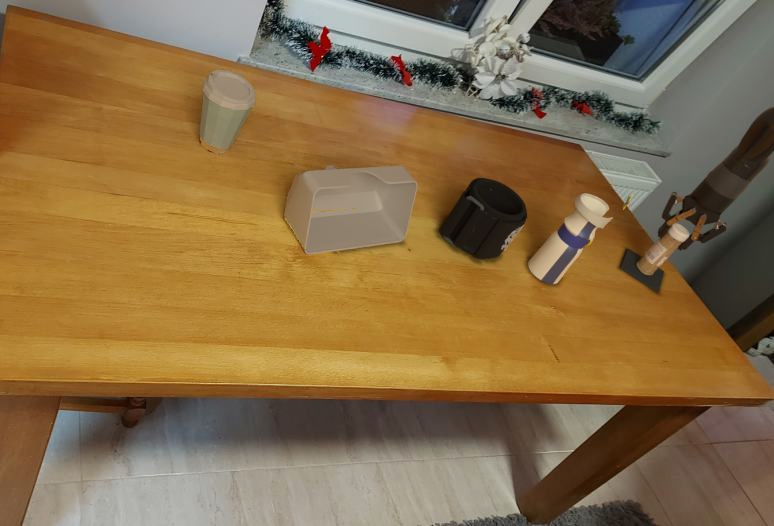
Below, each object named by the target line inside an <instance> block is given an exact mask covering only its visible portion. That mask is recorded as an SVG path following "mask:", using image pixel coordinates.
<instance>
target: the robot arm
mask: <svg viewBox="0 0 774 526" xmlns="http://www.w3.org/2000/svg"><path fill="white" fill-rule="evenodd" d="M773 153H774V106H772V107H769V108H767V109H765V110H763V111H762V112H761V113H760V114H759V115H758V116H757V117H756V118H755V119H754V120H753V121H752V123H750V125H749V126H748V128H747V129H746V131H745V133H744V134H743V136H742V137H741V139H740V140H739V143H738V144H737V145H736V146H735V147H734V148H733V149H732V150H730V152H729V153H728V154H727V155H726V156H725V158H724V159H723V160H722V161H721V162H720V163H718V164H717V165H716V166H715V167H714V168H713V169H712V170H711V171H710V172H708V174H707V175H706V176H705V177H704V179H703V180H702V181H700V183H699V184H698V185H697V186H696V187H695V188H694V189H693V191H692V192H691V193H690V194H687V195H685V196H683V195H679V194H678V192H676V191H673V192H671V194H670V196H669V198H668V200H667V202H666V204H665V206H664V208H663V211H662V213H661V218H662V219H663V220H664V222H663V223H662V225H661V226H660V227H659V228H658V230H657V237H658V238H661V237H662V236H663V235H664V234H665V233H666V232H667V231H668V230H669V228H670V227H671V225H673V224H674V223H678V222H681V221H684V220H686V221H688V222H690V223H691V224H692V225H694V228H693V230H692V233H691V234H690V236H689V237H688V238H687V239H686V240H685V241H684V242H683V243H681V244H680V245H679V246H678V247H677V250H679V251H682V250H683V251H686V250H688V248H689V247H690V246H691V245H693V243H694V242H700V243H701V244H706V243H708V242H709V241H711V240H713V239H714V238H716V237H718V236H720V235H722V234H723V233H725V232H726V231H727V227H728V224H727V222H724V221H722V219H720V218H721V215H722V214H723V213H724V212H725V211H726V210H727V209H728V208H729V207H730V206H731V205H732V204H733V203H734V202H735V201H736V200H737V199H738V198H739V197H740V196H741V195H742V194H743V193H744V192H745V191H746V189H748V187H749V185H750V184H751V183H752V182H753V180H755V179H756V178H757V177H758V175H760V174H761V172H763V171H764V169H765V168H766V167H767V166H768V165H769V163H770V161H771V155H772V154H773ZM679 203H682V204H681V209H679V210H677V211H676V212H675V213H674V214H671V211H672V209H673V206H677V205H678V204H679ZM710 224H714V225H713V227H712V228H711V229H709V230H707V231H705V232H704V233H701V232H702V229H703V227H704V226H706V225H710Z"/></svg>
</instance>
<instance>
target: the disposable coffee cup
mask: <svg viewBox="0 0 774 526" xmlns="http://www.w3.org/2000/svg"><path fill="white" fill-rule="evenodd" d="M201 89H202V92H203V96H202V103H201V104H202V106H201V117H200V125H199V126H200V127H199V135H200V137H201V138H202V140H203V141H204V142H206V143H207V144H209V145H210V146H213V147H216V148H218V149H228V148H229V147H230V146H232V147H233V145H234V143H235V140H237V137H238V135H239V134H240V131H241V130H242V128H243V126H244V124H245V122H246V120H247V118H248V117H249V115H250V112H251V111H252V109H253V107H254V106H255V105H256V99H257V92H256V90H255V89H254V86H252V84H251V83H250V81H248V80H247V79H246V78H245V77H243V76H241V75H240V74H238V73H236V72H234V71H230V70H227V69H214V70H213V71H210V73H208V76H206V77H205V79H204V81H203V82H202V88H201ZM229 150H230V149H228V150H227V151H221V152H220V151H218V153H219V152H220V154H221V155H222V153H223V154H226V153H227V152H228V151H229ZM215 153H216V152H215ZM215 153H214V154H215ZM218 153H216V154H215V155H220V154H218Z"/></svg>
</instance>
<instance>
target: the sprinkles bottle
mask: <svg viewBox="0 0 774 526" xmlns="http://www.w3.org/2000/svg"><path fill="white" fill-rule="evenodd" d="M690 235H691V234H690V231H689V230H688V229H687V227H685V226H683V225H682V224H681V223H678V222H676V223H674V224H673V225H671V227H670V228H669V230H668V231H667V232H666V233H665V234H664V235H663V236H662V237H661V238H660V237H658V239H657V240H656V241H655V242H654V243H653V245H652V246H650V248H649V249H648V250H647V251H646V252H645V253H644V255H643V256H641V257H642V258H641V259H640V260H639V261H638V262H637V263H636V266H637V268H638V269H639V270H640V271H641V272H642V273H644V274H646V275H653V274H654V272H655V271H656V270H657V269H658V268H660V267H661V266H662V265H663V264H664V263H665V262H666V261H667V259H669V257H670V256H671V255H672V254H673V253H674V252H675V250H678V246H679V245H680V244H681V243H683V242H684V241H685V240H686V239H687V238H688V237H689V236H690Z"/></svg>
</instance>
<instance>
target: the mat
mask: <svg viewBox="0 0 774 526" xmlns="http://www.w3.org/2000/svg"><path fill="white" fill-rule="evenodd" d="M642 257H643V256H641V255H640V254H639V253H637V252H635V251H634V250H632V249H630V248H628V247H627V249H626V250H625V254H624V256H623V258H622V262H621V265H620V266H619V268H620V269H621V270H622V271H623V272H625V273H627V274H628V275H630V276H632V277H633V278H635V279H636V280H637V281H639V282H641V283H642V284H643V285H645V286H647V287H648V288H650V289H651V290H652V291H655V292H656V293H659V291H660V289H661V285H662V282H663V277H664V275H665V270H663V269H661V268H660V267H658V269H657V270H656V271H655V272H654V274H653V275H646V274H644V273H642V272H641V271H640V270H639V269H638V268H637V266H636V263H637V262H638V261H639V260H640V259H641V258H642Z"/></svg>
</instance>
